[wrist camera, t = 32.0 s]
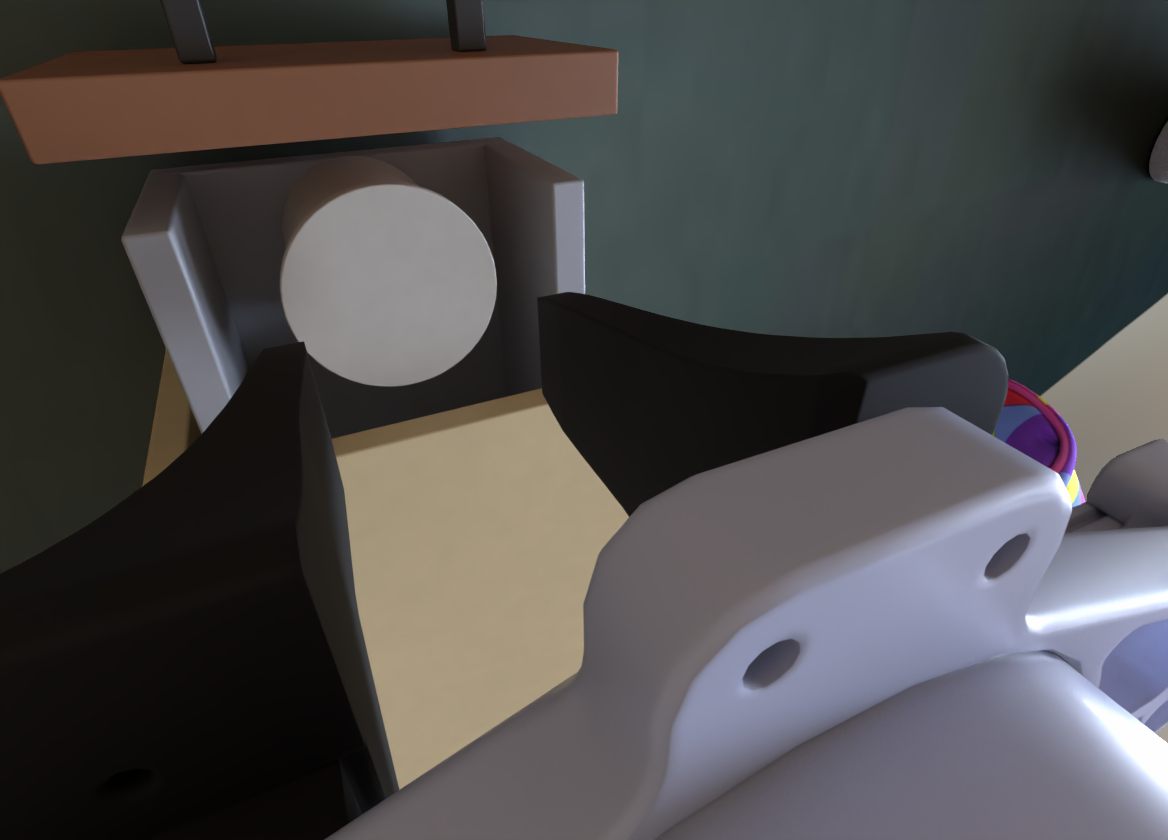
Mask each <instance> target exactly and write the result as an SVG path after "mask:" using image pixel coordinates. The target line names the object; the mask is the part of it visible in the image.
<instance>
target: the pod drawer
mask: <svg viewBox="0 0 1168 840" xmlns="http://www.w3.org/2000/svg"><path fill="white" fill-rule="evenodd" d="M160 1H161V5H162V8H163V11H164V14H165V17H166V20H167V24H168V27H169V30H170V33H171V36H172V40H173V43H174V46H175V48H158V49H131V50H104V51H77V52H71V53H69V54H66V55H63V56H61V57H58V58H55V59H52V60H50V61H47V62H44V63H42V64H39V65H36V66H34V67H31V68H28V69H25V70H23V71H20V72H17V73H15V74H12V75H9V76H6V77H4V78H1V79H0V94H1V96H2V98H3V101H4V103H5V105H6V107H7V109H8V111H9V114H10V116H11V118H12V120H13V122H14V124H15V127H16V129H17V131H18V133H19V135H20V137H21V140H22V142H23V144H24V146H25V148H26V151H27V153H28V155H29V157H30V159H31V161H32V162H33V163H34V164H48V163H59V162H71V161H82V160H94V159H105V158H117V157H128V156H140V155H151V154H163V153H175V152H186V151H198V150H209V149H221V148H232V147H244V146H255V145H267V144H278V143H290V142H301V141H313V140H324V139H336V138H347V137H359V136H370V135H382V134H394V133H405V132H417V131H428V130H440V129H451V128H463V127H474V126H486V125H497V124H509V123H520V122H532V121H543V120H555V119H566V118H578V117H589V116H601V115H613V114H616V113H617V96H618V51H617V50H614V49H607V48H600V47H593V46H586V45H579V44H572V43H564V42H557V41H550V40H543V39H536V38H529V37H522V36H515V35H507V36H485V24H484V12H483V0H446V2H447V11H448V21H449V30H450V38H427V39H400V40H373V41H346V42H319V43H292V44H265V45H238V46H214V44H213V41H212V37H211V34H210V30H209V26H208V23H207V19H206V16H205V12H204V9H203V5H202V2H201V0H160ZM343 156H365V157H371V158H375V159H378V160H381V161H384V162H387V163H389V164H391V165H393V166H395V167H396V168H398V169H399V170H401V171H403V172H404V173H405V174H406V175H407V176H409V177H410V178H411V179H412V180H413V181H414V182H415V183H416V184H417V185H418V186H420V187H424V188H427V189H429V190H431V191H434V192H436V193H438V194H440V195H442V196H443V197H445V198H447V199H448V200H450V201H451V202H453V203H454V204H455V205H456V206H458V207H459V208H460V209H461V210H462V211H464V212H465V213H466V214H467V215H468V216H469V218H470V219H471V220H472V221H473V222H474V223H475V224H476V226H477V227H478V228H479V230H480V231H481V233H482V234H483V236H484V238H485V240H486V242H487V244H488V246H489V248H490V251H491V254H492V256H493V260H494V264H495V269H496V279H497V290H496V299H495V305H494V309H493V312H492V316H491V319H490V321H489V323H488V325H487V328H486V330H485V332H484V333H483V335H482V336H481V338H480V340H479V341H478V342H477V344H476V345H475V346H474V347H473V349H472V350H471V351H470V352H469V353H468V354H467V355H466V356H465V357H464V358H463V359H462V360H461V361H459V362H458V363H457V364H455V365H454V366H453V367H451V368H450V369H448V370H446V371H445V372H443V373H441V374H439V375H437V376H435V377H433V378H431V379H428V380H425V381H422V382H419V383H414V384H410V385H404V386H393V387H387V386H373V385H366V384H362V383H358V382H354V381H351V380H349V379H346V378H343V377H341V376H339V375H337V374H335V373H333V372H331V371H330V370H328V369H326V368H325V367H324V366H322V365H321V364H319V363H318V362H317V361H316V360H315V359H314V358H312V357H311V356H310V355H309V354H308V357H309V361H310V364H311V368H312V371H313V375H314V378H315V382H316V386H317V389H318V393H319V396H320V400H321V404H322V407H323V411H324V414H325V418H326V421H327V425H328V429H329V432H330V436H331V439H333V438H337V437H341V436H345V435H349V434H353V433H358V432H362V431H366V430H370V429H374V428H378V427H383V426H387V425H391V424H395V423H399V422H403V421H408V420H412V419H416V418H420V417H424V416H428V415H433V414H437V413H441V412H445V411H449V410H453V409H458V408H462V407H466V406H470V405H474V404H478V403H482V402H487V401H491V400H495V399H499V398H503V397H507V396H512V395H516V394H520V393H524V392H528V391H532V390H537V389H541V388H542V380H541V361H540V343H539V324H538V306H537V297H543V296H548V295H553V294H559V293H564V292H575V293H581V294H585V246H584V181H583V180H582V179H580V178H578V177H576V176H574V175H573V174H571V173H569V172H567V171H565V170H563V169H561V168H559V167H557V166H555V165H553V164H551V163H549V162H548V161H546V160H544V159H542V158H540V157H538V156H536V155H534V154H532V153H530V152H528V151H526V150H524V149H523V148H521V147H519V146H517V145H515V144H513V143H511V142H509V141H507V140H505V139H503V138H501V137H495V138H484V139H473V140H463V141H452V142H441V143H431V144H420V145H410V146H399V147H388V148H378V149H367V150H356V151H346V152H335V153H324V154H314V155H303V156H292V157H282V158H271V159H260V160H250V161H239V162H228V163H218V164H207V165H197V166H186V167H175V168H165V169H154V170H151V171H150V173H149V176H148V178H147V180H146V182H145V184H144V187H143V189H142V191H141V193H140V196H139V198H138V200H137V203H136V205H135V207H134V210H133V212H132V214H131V216H130V219H129V221H128V223H127V226H126V228H125V230H124V232H123V235H122V238H121V241H122V243H123V246H124V248H125V250H126V253H127V255H128V258H129V260H130V262H131V265H132V267H133V270H134V272H135V275H136V277H137V279H138V282H139V284H140V287H141V289H142V291H143V294H144V296H145V299H146V301H147V304H148V306H149V308H150V311H151V313H152V316H153V318H154V320H155V323H156V325H157V328H158V330H159V333H160V335H161V337H162V340H163V342H164V345H165V347H166V349H167V352H168V354H169V357H170V359H171V362H172V364H173V366H174V369H175V371H176V374H177V376H178V378H179V381H180V383H181V386H182V388H183V391H184V393H185V395H186V398H187V400H188V403H189V405H190V408H191V410H192V412H193V415H194V417H195V420H196V422H197V424H198V427H199V429H200V432H201V434H202V433H203V432H204V431H205V430H206V429H207V427H208V426H209V425H210V424H211V423H212V421H213V420H214V419H215V418H216V417H217V415H218V414H219V413H220V412H221V411H222V409H223V408H224V407H225V406H226V404H227V403H228V402H229V400H230V399H231V397H232V396H233V394H234V393H235V392H236V390H237V389H238V387H239V386H240V384H241V383H242V381H243V380H244V378H245V377H246V375H247V374H248V372H249V370H250V369H251V367H252V366H253V364H254V362H255V361H256V359H257V358H258V356H259V355H260V354H261V352H262V351H263V349H266V348H271V347H276V346H282V345H287V344H292V343H298V340H297V339H296V337H295V336H294V334H293V332H292V331H291V329H290V326H289V324H288V322H287V319H286V317H285V313H284V309H283V306H282V301H281V293H280V270H281V265H282V259H283V256H284V253H285V250H286V249H285V245H284V240H283V234H282V216H283V210H284V206H285V203H286V200H287V198H288V196H289V194H290V192H291V190H292V188H293V187H294V186H295V184H296V183H297V182H298V180H299V179H300V178H301V177H302V176H303V175H304V174H305V173H307V172H308V171H309V170H311V169H312V168H313V167H315V166H317V165H319V164H321V163H322V162H325V161H328V160H330V159H334V158H338V157H343Z"/></svg>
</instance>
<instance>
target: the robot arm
mask: <svg viewBox="0 0 1168 840" xmlns="http://www.w3.org/2000/svg"><path fill="white" fill-rule="evenodd" d="M537 306H538V324H539V343H540V361H541V380H542V394H543V396H544V398H545V399H546V401H547V403H548V405H549V407H550V409H551V411H552V413H553V415H554V416H555V418H556V420H557V422H558V423H559V425H560V427H561V429H562V430H563V432H564V433H565V434H566V436H567V437H568V439H569V440H570V441H571V442H572V444H573V445H574V446H575V448H576V449H577V450H578V452H579V453H580V454H581V455H582V457H583V458H584V459H585V461H586V462H587V463H588V464H589V466H590V467H591V468H592V469H593V471H594V472H595V473H596V474H597V476H598V477H599V478H600V480H601V481H602V482H603V483H604V485H605V486H606V487H607V488H608V490H609V491H610V492H611V493H612V495H613V496H614V497H615V499H616V500H617V501H618V502H619V504H620V505H621V506H622V508H623V509H624V510H625V512H626V513H627V515H628V516H629V518H628V519H627V520H626V522H625V523H624V524H623V525H622V526H621V527H620V528H619V530H618V531H617V532H616V533H615V534H614V535H613V536H612V538H611V539H610V540H609V541H608V542H607V543H606V544H605V546H604V547H603V548H602V550H601V551H600V553H599V555H598V558H597V561H596V564H595V568H594V571H593V574H592V577H591V581H590V584H589V587H588V591H587V594H586V597H585V600H584V604H583V615H584V653H583V659H582V665H581V668H580V669H579V671H578V672H577V673H575V674H574V675H572V676H571V677H569V678H568V679H566V680H565V681H563V682H562V683H560V684H559V685H557V686H555V687H554V688H552V689H551V690H549V691H548V692H546V693H545V694H543V695H542V696H540V697H539V698H537V699H536V700H534V701H533V702H531V703H530V704H528V705H527V706H525V707H524V708H522V709H521V710H519V711H518V712H516V713H515V714H513V715H512V716H510V717H509V718H507V719H506V720H504V721H503V722H501V723H500V724H498V725H497V726H495V727H494V728H492V729H491V730H489V731H488V732H486V733H485V734H483V735H481V736H480V737H478V738H477V739H475V740H474V741H472V742H471V743H469V744H468V745H466V746H465V747H463V748H462V749H460V750H459V751H457V752H456V753H454V754H453V755H451V756H450V757H448V758H447V759H445V760H444V761H442V762H441V763H439V764H438V765H436V766H435V767H433V768H432V769H430V770H429V771H427V772H426V773H424V774H423V775H421V776H420V777H418V778H417V779H415V780H414V781H412V782H411V783H409V784H407V785H406V786H404V787H403V788H401V789H400V790H399V786H398V782H397V777H396V773H395V769H394V765H393V760H392V756H391V752H390V748H389V743H388V739H387V735H386V731H385V726H384V722H383V718H382V714H381V709H380V705H379V701H378V696H377V692H376V688H375V683H374V679H373V675H372V670H371V666H370V662H369V657H368V653H367V649H366V644H365V640H364V635H363V631H362V627H361V622H360V618H359V612H358V606H357V600H356V594H355V585H354V576H353V567H352V557H351V548H350V539H349V529H348V520H347V511H346V502H345V493H344V487H343V483H342V479H341V475H340V471H339V467H338V463H337V459H336V455H335V451H334V447H333V443H332V439H331V436H330V432H329V429H328V425H327V421H326V418H325V414H324V411H323V407H322V404H321V400H320V396H319V393H318V389H317V386H316V382H315V378H314V375H313V371H312V368H311V364H310V361H309V357H308V353H307V350H306V346H305V343H304V341H303V342H298V343H292V344H287V345H282V346H276V347H271V348H266V349H263V351H262V352H261V354H260V355H259V356H258V358H257V359H256V361H255V362H254V364H253V366H252V367H251V369H250V370H249V372H248V374H247V375H246V377H245V378H244V380H243V381H242V383H241V384H240V386H239V387H238V389H237V390H236V392H235V393H234V394H233V396H232V397H231V399H230V400H229V402H228V403H227V404H226V406H225V407H224V408H223V409H222V411H221V412H220V413H219V414H218V415H217V417H216V418H215V419H214V420H213V421H212V423H211V424H210V425H209V426H208V427H207V429H206V430H205V431H204V432H203V433H202V434H201V435H200V436H199V437H198V438H197V439H196V441H195V442H194V443H193V444H191V445H190V446H189V447H188V448H187V449H186V450H185V451H184V452H183V453H182V454H181V455H180V456H179V457H178V458H177V459H175V460H174V461H173V462H172V463H171V464H170V465H169V466H168V467H167V468H165V469H164V470H163V471H162V472H161V473H159V474H158V475H157V476H156V477H155V478H153V479H152V480H150V481H149V482H148V483H146V484H145V485H144V486H142V487H141V488H140V489H138V490H137V491H136V492H134V493H133V494H132V495H130V496H129V497H128V498H126V499H125V500H123V501H122V502H121V503H119V504H118V505H117V506H115V507H114V508H113V509H111V510H110V511H108V512H107V513H105V514H104V515H102V516H101V517H99V518H98V519H96V520H94V521H93V522H91V523H90V524H88V525H87V526H85V527H83V528H82V529H80V530H79V531H77V532H75V533H74V534H72V535H70V536H69V537H67V538H65V539H63V540H62V541H60V542H58V543H57V544H55V545H53V546H51V547H50V548H48V549H46V550H45V551H43V552H41V553H39V554H37V555H36V556H34V557H32V558H30V559H28V560H26V561H25V562H23V563H21V564H19V565H17V566H15V567H13V568H11V569H9V570H7V571H5V572H3V573H1V574H0V840H1168V743H1166V742H1165V741H1164V740H1163V739H1161V738H1160V737H1159V736H1158V735H1156V734H1155V733H1157V732H1158V731H1159V730H1161V729H1162V728H1163V727H1165V726H1166V725H1167V724H1168V441H1166V440H1164V439H1158V440H1154V441H1151V442H1149V443H1147V444H1144V445H1142V446H1139V447H1137V448H1135V449H1132V450H1130V451H1127V452H1125V453H1123V454H1120V455H1118V456H1116V457H1115V458H1113V459H1112V460H1110V461H1109V462H1108V463H1107V464H1106V465H1105V466H1104V467H1103V468H1102V470H1101V471H1100V473H1099V474H1098V475H1097V477H1096V478H1095V480H1094V482H1093V484H1092V486H1091V488H1090V490H1089V492H1088V494H1087V502H1084V503H1082V504H1080V505H1077V506H1075V507H1073V508H1072V506H1071V501H1070V496H1069V494H1068V492H1067V490H1066V488H1065V486H1064V484H1063V482H1062V480H1061V478H1060V476H1059V474H1058V473H1056V472H1055V471H1053V470H1051V469H1050V468H1048V467H1046V466H1044V465H1043V464H1041V463H1039V462H1037V461H1036V460H1034V459H1032V458H1030V457H1029V456H1027V455H1025V454H1023V453H1022V452H1020V451H1018V450H1017V449H1015V448H1013V447H1011V446H1010V445H1008V444H1006V443H1004V442H1003V441H1001V440H999V439H997V438H996V437H994V436H992V435H993V432H994V430H995V427H996V425H997V423H998V420H999V418H1000V415H1001V412H1002V409H1003V406H1004V403H1005V400H1006V397H1007V389H1008V379H1009V378H1008V371H1007V367H1006V363H1005V359H1004V357H1003V356H1002V355H1001V354H1000V352H999V351H998V350H997V349H996V348H995V347H993V346H991V345H988V344H986V343H984V342H982V341H980V340H978V339H976V338H973V337H971V336H969V335H967V334H964V333H957V332H946V333H933V334H920V335H907V336H894V337H878V338H808V337H793V336H778V335H766V334H756V333H749V332H742V331H735V330H728V329H722V328H716V327H711V326H705V325H700V324H696V323H692V322H687V321H683V320H679V319H674V318H670V317H666V316H662V315H659V314H655V313H651V312H648V311H644V310H641V309H637V308H633V307H630V306H627V305H623V304H620V303H616V302H613V301H609V300H606V299H602V298H598V297H594V296H590V295H586V294H581V293H575V292H564V293H559V294H553V295H548V296H543V297H537Z"/></svg>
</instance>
